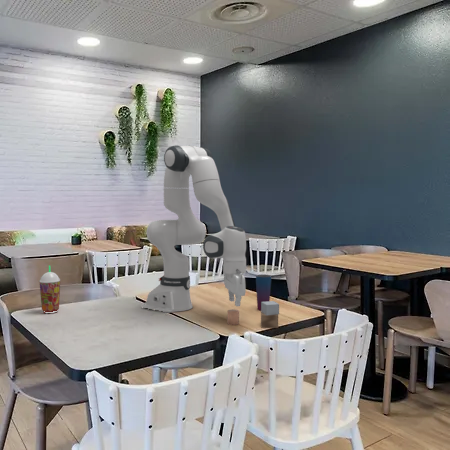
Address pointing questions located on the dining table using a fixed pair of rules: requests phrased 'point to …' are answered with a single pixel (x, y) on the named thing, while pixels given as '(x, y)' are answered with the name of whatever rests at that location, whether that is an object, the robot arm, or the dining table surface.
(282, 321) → the dining table surface
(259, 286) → the cup
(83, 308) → the dining table surface
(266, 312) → the tower top block
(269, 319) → the tower base
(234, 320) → the orange brown block
